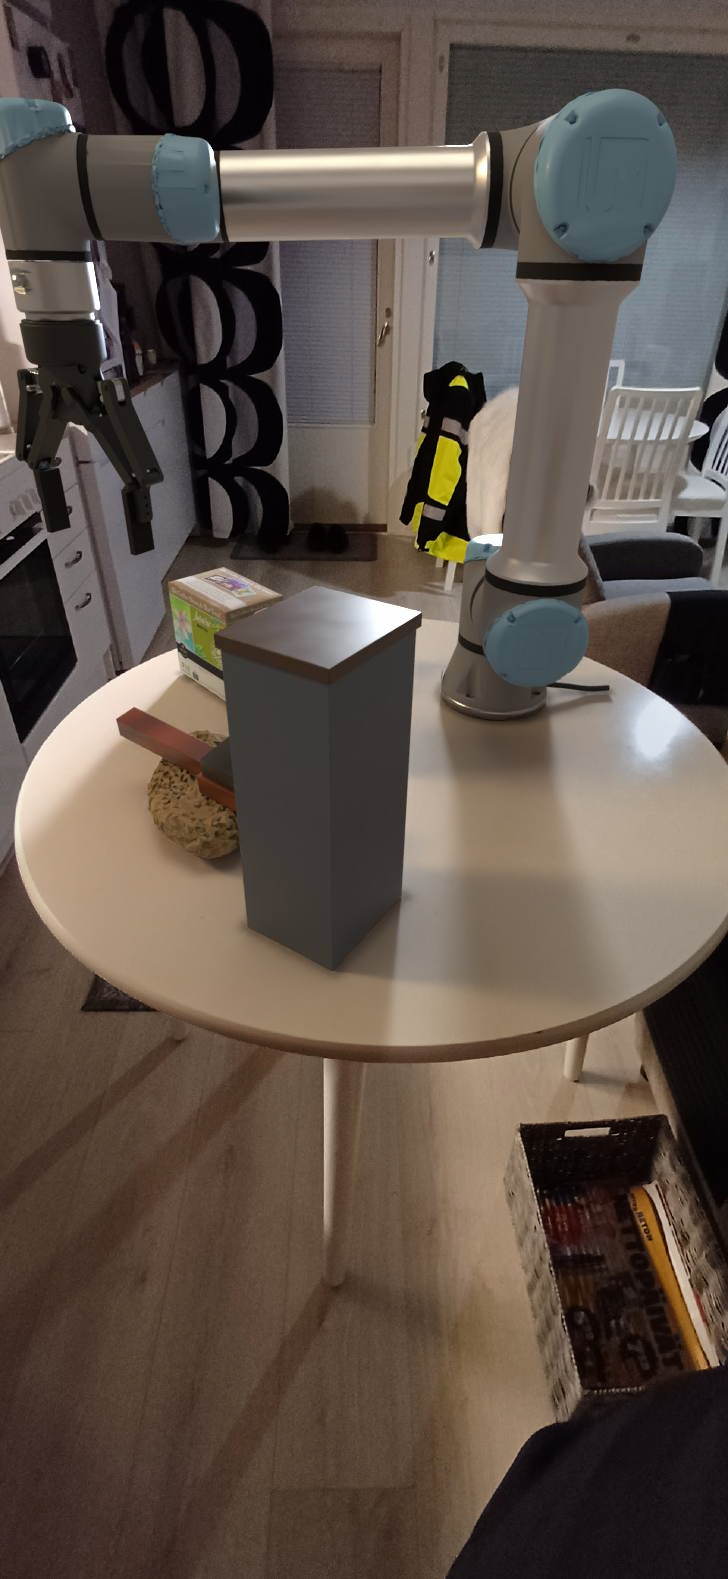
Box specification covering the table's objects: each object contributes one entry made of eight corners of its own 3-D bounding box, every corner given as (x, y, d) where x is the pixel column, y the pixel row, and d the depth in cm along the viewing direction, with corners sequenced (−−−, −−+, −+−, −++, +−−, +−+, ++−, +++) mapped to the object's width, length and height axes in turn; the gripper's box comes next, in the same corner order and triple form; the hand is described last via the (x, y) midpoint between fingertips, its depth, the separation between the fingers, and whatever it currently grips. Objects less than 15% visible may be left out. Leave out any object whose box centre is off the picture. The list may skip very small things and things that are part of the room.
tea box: (177, 673, 119) (164, 579, 110) (232, 655, 124) (224, 564, 116) (233, 709, 110) (224, 609, 101) (290, 688, 115) (286, 592, 107)
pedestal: (242, 927, 74) (212, 633, 57) (320, 857, 83) (314, 584, 66) (333, 974, 70) (329, 669, 53) (405, 895, 78) (422, 612, 61)
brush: (107, 743, 87) (99, 711, 84) (149, 715, 91) (142, 683, 88) (259, 824, 79) (256, 791, 76) (298, 789, 83) (296, 756, 80)
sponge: (173, 775, 98) (107, 846, 80) (181, 717, 95) (115, 777, 77) (274, 801, 98) (231, 878, 79) (285, 744, 95) (244, 810, 76)
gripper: (-54, 311, 77) (-1, 528, 89) (120, 325, 66) (154, 571, 78) (11, 308, 82) (54, 514, 94) (183, 321, 71) (206, 552, 83)
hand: (99, 540), depth 86 cm, fingers open, 13 cm apart
